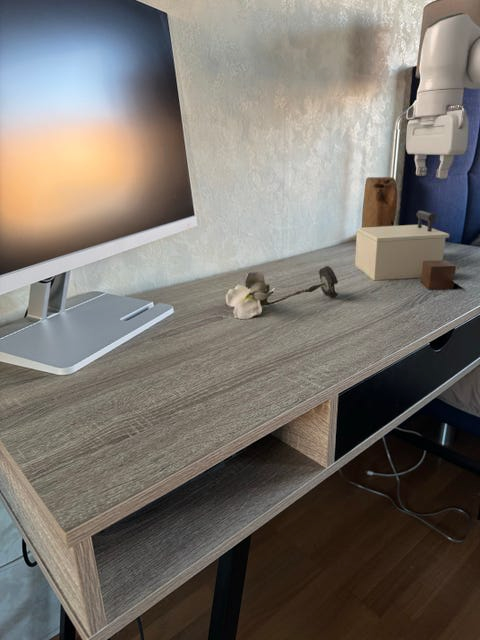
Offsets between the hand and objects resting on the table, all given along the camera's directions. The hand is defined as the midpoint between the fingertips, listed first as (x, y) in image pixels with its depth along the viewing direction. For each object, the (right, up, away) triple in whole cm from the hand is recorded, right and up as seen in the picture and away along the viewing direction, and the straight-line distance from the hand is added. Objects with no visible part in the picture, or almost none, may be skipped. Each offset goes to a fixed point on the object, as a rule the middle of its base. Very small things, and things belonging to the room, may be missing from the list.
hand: (430, 176), depth 98 cm
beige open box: (-4, -20, +10) cm, 22 cm away
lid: (-4, -11, +7) cm, 14 cm away
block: (-1, -10, +35) cm, 36 cm away
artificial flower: (-33, -29, -11) cm, 45 cm away
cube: (0, -24, -2) cm, 24 cm away
